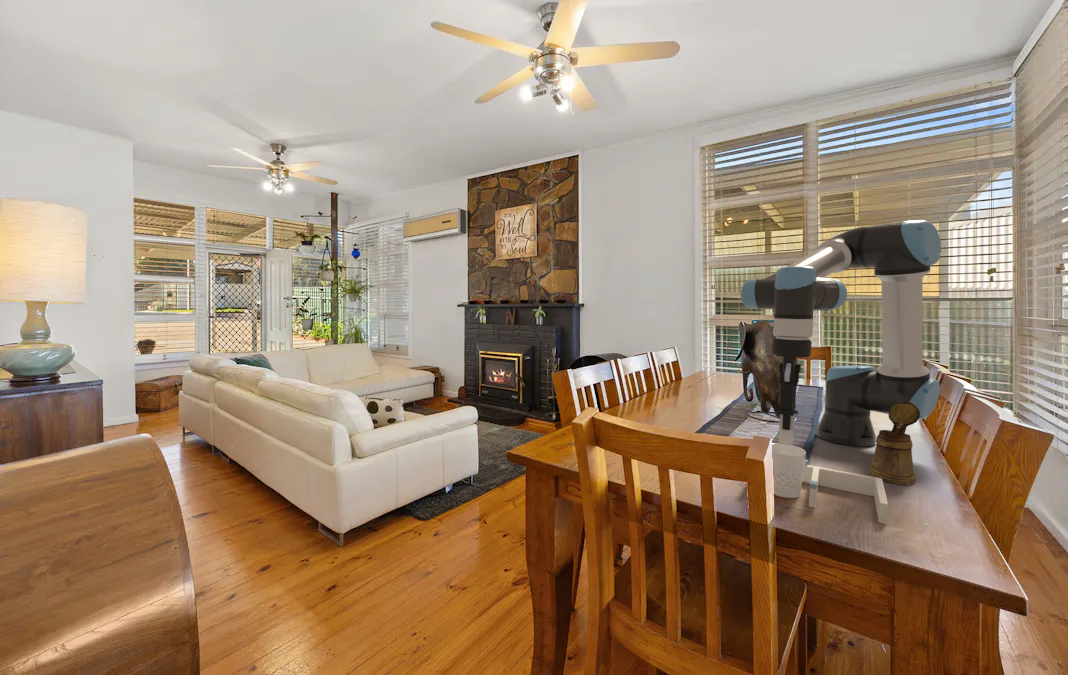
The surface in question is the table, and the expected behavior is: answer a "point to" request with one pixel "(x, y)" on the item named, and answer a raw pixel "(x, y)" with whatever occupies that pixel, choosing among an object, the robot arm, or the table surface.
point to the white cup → (788, 469)
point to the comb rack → (846, 486)
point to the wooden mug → (896, 447)
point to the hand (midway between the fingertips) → (785, 442)
